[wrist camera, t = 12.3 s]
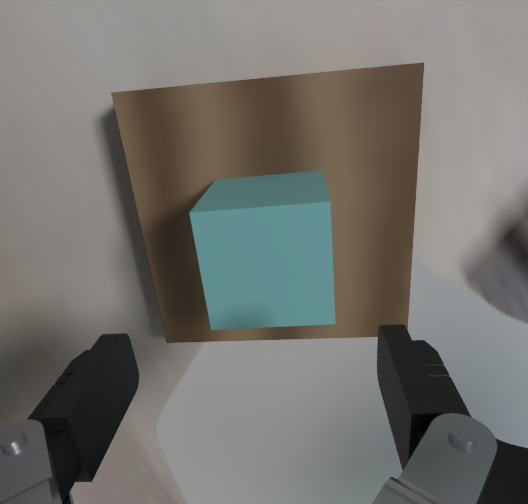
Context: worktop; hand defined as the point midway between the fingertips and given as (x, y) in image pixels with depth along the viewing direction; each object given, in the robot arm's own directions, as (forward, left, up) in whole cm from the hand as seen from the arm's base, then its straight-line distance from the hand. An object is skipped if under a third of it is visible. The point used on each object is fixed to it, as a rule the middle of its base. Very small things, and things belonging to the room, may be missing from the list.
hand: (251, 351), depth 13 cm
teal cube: (0, 0, -12) cm, 12 cm away
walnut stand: (0, 0, -15) cm, 15 cm away
